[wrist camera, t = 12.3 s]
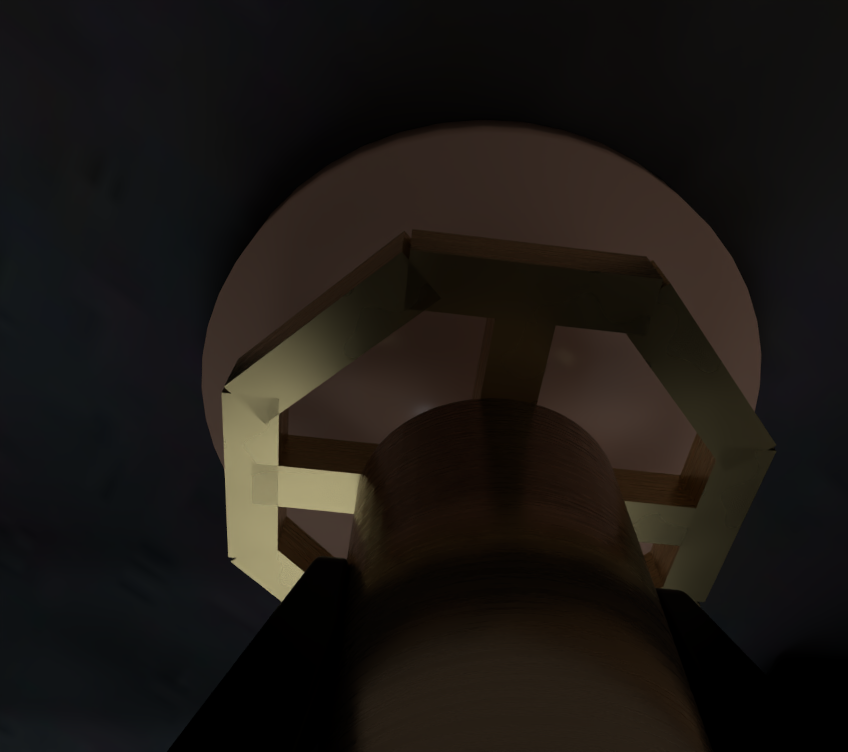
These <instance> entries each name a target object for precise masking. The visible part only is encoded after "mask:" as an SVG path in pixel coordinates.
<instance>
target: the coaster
mask: <svg viewBox="0 0 848 752" xmlns="http://www.w3.org/2000/svg"><path fill="white" fill-rule="evenodd" d="M412 229H418V230H426V231H435V232H443V233H452V234H460V235H469V236H477V237H486V238H494V239H502V240H511V241H519V242H528V243H536V244H545V245H553V246H562V247H570V248H579V249H587V250H596V251H604V252H613V253H621V254H629V255H638V256H646V257H647V258H648V259H649V261H652V260H653V261H654V262H655V263H656V265H657V266H658V267H659V268H660V270H661V271H662V272H663V274H664V275H665V276H666V278H667V279H668V280H669V282H670V283H671V285H672V286H673V288H674V289H675V291H676V292H677V294H678V295H679V297H680V298H681V300H682V302H683V303H684V305H685V306H686V308H687V309H688V311H689V312H690V314H691V315H692V317H693V318H694V320H695V321H696V323H697V324H698V326H699V328H700V329H701V331H702V332H703V334H704V335H705V337H706V338H707V340H708V341H709V343H710V344H711V346H712V347H713V349H714V350H715V352H716V354H717V355H718V357H719V358H720V360H721V361H722V363H723V364H724V366H725V367H726V369H727V370H728V372H729V373H730V375H731V377H732V378H733V380H734V381H735V383H736V384H737V386H738V387H739V389H740V390H741V392H742V393H743V395H744V396H745V398H746V399H747V401H748V403H749V404H750V406H751V407H752V409H753V410H754V412H755V408H756V403H757V398H758V393H759V387H760V371H761V348H760V339H759V331H758V323H757V319H756V315H755V312H754V308H753V305H752V302H751V298H750V295H749V291H748V288H747V286H746V284H745V282H744V280H743V278H742V276H741V274H740V272H739V270H738V268H737V266H736V264H735V262H734V260H733V258H732V256H731V255H730V253H729V252H728V251H727V249H726V248H725V246H724V245H723V244H722V242H721V241H720V239H719V238H718V237H717V235H716V234H715V232H714V231H713V230H712V228H711V227H710V226H709V225H708V224H707V223H706V222H705V221H704V220H703V219H702V218H701V217H700V216H699V215H698V214H697V213H696V212H695V211H694V210H693V209H692V208H691V207H690V206H689V205H688V204H687V203H686V202H685V201H684V200H683V199H682V198H681V197H680V196H679V195H678V194H677V193H676V192H675V191H673V190H672V189H671V188H670V187H669V186H668V185H667V184H666V183H665V182H663V181H662V180H661V179H659V178H658V177H657V176H655V175H654V174H652V173H651V172H650V171H648V170H647V169H646V168H644V167H643V166H642V165H640V164H639V163H637V162H636V161H635V160H633V159H631V158H629V157H627V156H625V155H623V154H621V153H619V152H617V151H616V150H614V149H612V148H610V147H608V146H606V145H604V144H602V143H600V142H597V141H594V140H591V139H588V138H586V137H583V136H580V135H577V134H574V133H571V132H568V131H566V130H562V129H557V128H552V127H547V126H542V125H537V124H532V123H527V122H518V121H499V120H470V121H458V122H446V123H438V124H434V125H429V126H425V127H420V128H416V129H411V130H407V131H402V132H399V133H396V134H393V135H391V136H388V137H385V138H383V139H380V140H377V141H375V142H372V143H369V144H367V145H364V146H362V147H360V148H358V149H356V150H354V151H352V152H350V153H349V154H347V155H345V156H343V157H341V158H339V159H338V160H336V161H334V162H332V163H330V164H328V165H327V166H325V167H324V168H323V169H321V170H320V171H319V172H317V173H316V174H315V175H313V176H312V177H311V178H309V179H308V180H306V181H305V182H304V183H302V184H301V185H300V186H298V187H297V188H296V189H295V190H294V191H293V192H292V193H291V194H290V195H289V196H288V197H287V198H286V199H285V200H284V201H283V202H282V203H281V204H280V205H279V206H278V207H277V208H276V209H275V210H274V211H273V212H272V213H271V214H270V215H269V217H268V218H267V219H266V221H265V222H264V223H263V225H262V226H261V227H260V229H259V230H258V231H257V233H256V234H255V235H254V237H253V238H252V239H251V241H250V242H249V244H248V245H247V247H246V248H245V249H244V251H243V252H242V254H241V255H240V257H239V258H238V260H237V261H236V263H235V265H234V267H233V268H232V270H231V272H230V274H229V276H228V278H227V280H226V282H225V283H224V285H223V287H222V289H221V291H220V293H219V295H218V298H217V301H216V304H215V307H214V310H213V313H212V315H211V318H210V321H209V324H208V328H207V334H206V340H205V345H204V351H203V357H202V394H203V401H204V409H205V416H206V421H207V424H208V428H209V431H210V434H211V438H212V441H213V445H214V448H215V450H216V452H217V454H218V456H219V459H220V461H221V463H222V465H223V467H224V469H225V464H224V440H223V416H222V391H223V389H224V385H225V384H226V382H227V380H228V378H229V376H230V374H231V372H232V370H233V368H234V366H235V364H236V362H237V360H238V358H240V357H241V356H242V355H244V354H245V353H246V352H247V351H249V350H250V349H251V348H253V347H254V346H255V345H257V344H258V343H259V342H260V341H262V340H263V339H264V338H266V337H267V336H268V335H270V334H271V333H272V332H273V331H275V330H276V329H277V328H279V327H280V326H281V325H283V324H284V323H285V322H286V321H288V320H289V319H290V318H292V317H293V316H294V315H295V314H297V313H298V312H299V311H301V310H302V309H303V308H305V307H306V306H307V305H308V304H310V303H311V302H312V301H314V300H315V299H316V298H318V297H319V296H320V295H321V294H323V293H324V292H325V291H327V290H328V289H329V288H331V287H332V286H333V285H334V284H336V283H337V282H338V281H340V280H341V279H342V278H343V277H345V276H346V275H347V274H349V273H350V272H351V271H353V270H354V269H355V268H356V267H358V266H359V265H360V264H362V263H363V262H364V261H366V260H367V259H368V258H369V257H371V256H372V255H373V254H375V253H376V252H377V251H379V250H380V249H381V248H382V247H384V246H385V245H386V244H388V243H389V242H390V241H391V240H393V239H394V238H395V237H397V236H398V235H399V234H401V233H402V232H403V231H405V232H406V233H407V234H408V235H409V237H410V238H411V236H412ZM486 319H487V318H485V317H476V316H467V315H458V314H449V313H440V312H432V311H423V312H422V313H420V314H419V315H417V316H416V317H415V318H413V319H412V320H410V321H409V322H408V323H406V324H405V325H403V326H402V327H401V328H399V329H398V330H396V331H395V332H393V333H392V334H391V335H389V336H388V337H386V338H385V339H384V340H382V341H381V342H379V343H378V344H377V345H375V346H374V347H372V348H371V349H370V350H368V351H367V352H365V353H364V354H363V355H361V356H360V357H358V358H357V359H356V360H354V361H353V362H351V363H350V364H349V365H347V366H346V367H344V368H343V369H342V370H340V371H339V372H337V373H336V374H335V375H333V376H332V377H330V378H329V379H328V380H326V381H325V382H323V383H322V384H321V385H319V386H318V387H316V388H315V389H313V390H312V391H311V392H309V393H308V394H306V395H305V396H304V397H302V398H301V399H299V400H298V401H297V402H295V403H294V404H292V405H291V406H290V407H289V422H288V435H297V436H307V437H316V438H326V439H336V440H345V441H355V442H365V443H374V444H380V443H381V442H382V441H383V440H384V439H385V438H386V437H387V436H388V435H389V434H390V433H391V432H392V431H394V430H395V429H396V428H398V427H399V426H400V425H402V424H403V423H405V422H406V421H408V420H410V419H412V418H413V417H415V416H417V415H419V414H421V413H423V412H426V411H428V410H430V409H433V408H435V407H438V406H442V405H445V404H449V403H452V402H458V401H463V400H469V399H472V396H473V391H474V385H475V380H476V374H477V369H478V363H479V358H480V352H481V347H482V341H483V336H484V330H485V325H486ZM537 405H540V406H543V407H546V408H548V409H551V410H553V411H556V412H558V413H560V414H562V415H564V416H566V417H567V418H569V419H571V420H572V421H574V422H576V423H577V424H578V425H579V426H581V427H582V428H583V429H585V430H586V431H587V432H588V433H589V434H590V435H591V436H592V437H593V438H594V439H595V440H596V441H597V442H598V443H599V445H600V446H601V448H602V449H603V451H604V452H605V454H606V455H607V457H608V459H609V461H610V464H611V466H612V468H616V469H626V470H636V471H646V472H655V473H665V474H675V475H680V474H681V472H682V469H683V467H684V464H685V462H686V459H687V456H688V454H689V451H690V449H691V446H692V444H693V441H694V439H695V436H696V434H697V432H696V431H695V429H694V428H693V427H692V425H691V424H690V422H689V421H688V420H687V418H686V417H685V415H684V414H683V413H682V411H681V410H680V408H679V407H678V406H677V404H676V403H675V401H674V400H673V399H672V397H671V396H670V394H669V393H668V392H667V390H666V389H665V388H664V386H663V385H662V383H661V382H660V381H659V379H658V378H657V376H656V375H655V374H654V372H653V371H652V369H651V368H650V367H649V365H648V364H647V362H646V361H645V360H644V358H643V357H642V355H641V354H640V353H639V351H638V350H637V348H636V347H635V346H634V344H633V343H632V341H631V340H630V339H629V337H628V336H627V335H626V333H618V332H609V331H600V330H591V329H583V328H574V327H565V326H556V327H555V331H554V335H553V339H552V343H551V347H550V352H549V356H548V360H547V364H546V368H545V372H544V377H543V381H542V385H541V389H540V393H539V397H538V402H537ZM353 516H354V514H350V513H340V512H330V511H319V510H309V509H299V508H289V507H287V517H288V518H290V519H291V520H292V521H293V522H294V523H295V524H297V525H298V526H299V527H300V528H301V529H302V530H304V531H305V532H306V533H307V534H308V535H309V536H311V537H312V538H313V539H314V540H315V541H316V542H318V543H319V544H320V545H321V546H322V547H323V548H325V549H326V550H327V551H328V552H329V553H330V554H332V555H333V556H334V557H338V558H345V559H346V560H347V555H348V548H349V542H350V535H351V529H352V522H353ZM639 544H640V547H641V550H642V552H643V555H644V554H646V553H648V552H650V551H651V548H652V546H653V543H645V542H639Z"/></svg>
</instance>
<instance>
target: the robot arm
mask: <svg viewBox="0 0 848 752" xmlns="http://www.w3.org/2000/svg"><path fill="white" fill-rule="evenodd" d="M347 571H348V561H347V560H346V559H345V558H338V557H328V556H319V557H317V558H315V559H314V560H313V562H312V563H311V564H310V565H309V567H308V568H307V569H306V571H305V572H304V573H303V575H302V576H301V577H300V579H299V580H298V581H297V582H296V584H295V585H294V586H293V588H292V589H291V590H290V592H289V593H288V594H287V595H286V597H285V598H284V599H283V601H282V602H281V603H280V605H279V606H278V607H277V609H276V610H275V611H274V612H273V614H272V615H271V616H270V618H269V619H268V620H267V622H266V623H265V624H264V626H263V627H262V628H261V629H260V631H259V632H258V633H257V635H256V636H255V637H254V639H253V640H252V641H251V643H250V644H249V645H248V646H247V648H246V649H245V650H244V652H243V653H242V654H241V656H240V657H239V658H238V660H237V661H236V662H235V663H234V665H233V666H232V667H231V669H230V670H229V671H228V673H227V674H226V675H225V676H224V678H223V679H222V680H221V682H220V683H219V684H218V686H217V687H216V688H215V690H214V691H213V692H212V693H211V695H210V696H209V697H208V699H207V700H206V701H205V703H204V704H203V705H202V707H201V708H200V709H199V710H198V712H197V713H196V714H195V716H194V717H193V718H192V720H191V721H190V722H189V724H188V725H187V726H186V727H185V729H184V730H183V731H182V733H181V734H180V735H179V737H178V738H177V739H176V740H175V742H174V743H173V744H172V746H171V747H170V748H169V750H168V751H167V752H318V746H319V739H320V733H321V726H322V719H323V713H324V707H325V701H326V695H327V690H328V686H329V681H330V677H331V672H332V668H333V663H334V657H335V651H336V646H337V639H338V632H339V625H340V618H341V612H342V605H343V598H344V591H345V585H346V578H347ZM655 589H656V592H657V595H658V597H659V600H660V603H661V606H662V609H663V612H664V614H665V617H666V620H667V623H668V626H669V628H670V631H671V634H672V637H673V640H674V643H675V645H676V648H677V651H678V654H679V657H680V659H681V662H682V665H683V668H684V671H685V674H686V676H687V679H688V682H689V685H690V688H691V690H692V693H693V696H694V699H695V702H696V705H697V707H698V710H699V713H700V716H701V719H702V721H703V724H704V727H705V730H706V733H707V735H708V738H709V741H710V744H711V747H712V750H713V752H848V664H842V663H831V662H820V661H808V660H792V661H788V662H785V663H783V664H781V665H780V666H778V667H777V668H776V669H775V670H774V672H773V674H772V675H771V677H770V679H769V678H768V677H767V676H766V675H765V674H764V673H763V672H762V671H761V669H760V668H759V667H758V666H757V665H756V664H755V663H754V662H753V661H752V660H751V659H750V658H749V657H748V656H747V655H746V654H745V653H744V652H743V651H742V650H741V649H740V648H739V647H738V646H737V645H736V644H735V643H734V642H733V641H732V640H731V639H730V638H729V636H728V635H727V634H726V633H725V632H724V631H723V630H722V629H721V628H720V627H719V626H718V625H717V624H716V623H715V622H714V621H713V620H712V619H711V618H710V617H709V616H708V615H707V614H706V613H705V612H704V611H703V610H702V609H701V608H700V607H699V606H698V605H697V603H696V602H695V601H694V600H693V599H692V598H691V597H690V596H689V595H688V594H686V593H685V592H683V591H681V590H676V589H665V588H655Z"/></svg>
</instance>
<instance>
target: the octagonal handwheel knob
mask: <svg viewBox="0 0 848 752" xmlns="http://www.w3.org/2000/svg"><path fill="white" fill-rule="evenodd" d="M423 311H432V312H440V313H449V314H458V315H467V316H476V317H485V318H487V319H486V325H485V330H484V336H483V341H482V347H481V352H480V358H479V363H478V369H477V374H476V380H475V385H474V391H473V396H472V399H469V400H463V401H458V402H452V403H449V404H445V405H442V406H438V407H435V408H433V409H430V410H428V411H426V412H423V413H421V414H419V415H417V416H415V417H413V418H412V419H410V420H408V421H406V422H405V423H403V424H402V425H400V426H399V427H398V428H396V429H395V430H394V431H392V432H391V433H390V434H389V435H388V436H387V437H386V438H385V439H384V440H383V441H382V442H381V443H380V444H374V443H365V442H355V441H345V440H336V439H326V438H316V437H307V436H297V435H288V422H289V407H290V406H291V405H292V404H294V403H295V402H297V401H298V400H299V399H301V398H302V397H304V396H305V395H306V394H308V393H309V392H311V391H312V390H313V389H315V388H316V387H318V386H319V385H321V384H322V383H323V382H325V381H326V380H328V379H329V378H330V377H332V376H333V375H335V374H336V373H337V372H339V371H340V370H342V369H343V368H344V367H346V366H347V365H349V364H350V363H351V362H353V361H354V360H356V359H357V358H358V357H360V356H361V355H363V354H364V353H365V352H367V351H368V350H370V349H371V348H372V347H374V346H375V345H377V344H378V343H379V342H381V341H382V340H384V339H385V338H386V337H388V336H389V335H391V334H392V333H393V332H395V331H396V330H398V329H399V328H401V327H402V326H403V325H405V324H406V323H408V322H409V321H410V320H412V319H413V318H415V317H416V316H417V315H419V314H420V313H422V312H423ZM556 326H565V327H574V328H583V329H591V330H600V331H609V332H618V333H626V335H627V336H628V337H629V339H630V340H631V341H632V343H633V344H634V346H635V347H636V348H637V350H638V351H639V353H640V354H641V355H642V357H643V358H644V360H645V361H646V362H647V364H648V365H649V367H650V368H651V369H652V371H653V372H654V374H655V375H656V376H657V378H658V379H659V381H660V382H661V383H662V385H663V386H664V388H665V389H666V390H667V392H668V393H669V394H670V396H671V397H672V399H673V400H674V401H675V403H676V404H677V406H678V407H679V408H680V410H681V411H682V413H683V414H684V415H685V417H686V418H687V420H688V421H689V422H690V424H691V425H692V427H693V428H694V429H695V431H696V432H697V434H696V436H695V439H694V441H693V444H692V446H691V449H690V451H689V454H688V456H687V459H686V462H685V464H684V467H683V469H682V472H681V474H680V475H675V474H665V473H655V472H646V471H636V470H626V469H616V468H612V466H611V464H610V461H609V459H608V457H607V455H606V454H605V452H604V451H603V449H602V448H601V446H600V445H599V443H598V442H597V441H596V440H595V439H594V438H593V437H592V436H591V435H590V434H589V433H588V432H587V431H586V430H585V429H583V428H582V427H581V426H579V425H578V424H577V423H576V422H574V421H572V420H571V419H569V418H567V417H566V416H564V415H562V414H560V413H558V412H556V411H553V410H551V409H548V408H546V407H543V406H540V405H537V402H538V397H539V393H540V389H541V385H542V381H543V377H544V372H545V368H546V364H547V360H548V356H549V352H550V347H551V343H552V339H553V335H554V331H555V327H556ZM222 416H223V440H224V464H225V488H226V513H227V537H228V557H232V559H231V562H232V563H233V564H234V565H236V566H237V567H238V568H239V569H241V570H242V571H243V572H244V573H246V574H247V575H248V576H250V577H251V578H252V579H253V580H255V581H256V582H257V583H259V584H260V585H261V586H262V587H264V588H265V589H266V590H267V591H269V592H270V593H271V594H273V595H274V596H275V597H276V598H278V599H279V600H280V601H281V602H282V601H283V599H284V598H285V597H286V595H287V594H288V593H289V592H290V590H291V589H292V588H293V586H294V585H295V584H296V582H297V581H298V580H299V579H300V577H301V576H302V575H303V573H304V572H305V571H306V569H307V568H308V567H309V565H310V564H311V563H312V562H313V560H314V559H315V558H317V557H319V556H328V557H334V556H333V555H332V554H330V553H329V552H328V551H327V550H326V549H325V548H323V547H322V546H321V545H320V544H319V543H318V542H316V541H315V540H314V539H313V538H312V537H311V536H309V535H308V534H307V533H306V532H305V531H304V530H302V529H301V528H300V527H299V526H298V525H297V524H295V523H294V522H293V521H292V520H291V519H290V518H288V517H287V507H289V508H299V509H309V510H319V511H330V512H340V513H350V514H354V516H353V522H352V529H351V535H350V542H349V548H348V555H347V561H348V571H347V578H346V585H345V591H344V598H343V605H342V612H341V618H340V625H339V632H338V639H337V646H336V651H335V657H334V663H333V668H332V672H331V677H330V681H329V686H328V690H327V695H326V701H325V707H324V713H323V719H322V726H321V733H320V739H319V746H318V752H713V750H712V747H711V744H710V741H709V738H708V735H707V733H706V730H705V727H704V724H703V721H702V719H701V716H700V713H699V710H698V707H697V705H696V702H695V699H694V696H693V693H692V690H691V688H690V685H689V682H688V679H687V676H686V674H685V671H684V668H683V665H682V662H681V659H680V657H679V654H678V651H677V648H676V645H675V643H674V640H673V637H672V634H671V631H670V628H669V626H668V623H667V620H666V617H665V614H664V612H663V609H662V606H661V603H660V600H659V597H658V595H657V592H656V589H655V588H665V589H676V590H681V591H683V592H685V593H686V594H688V595H689V596H690V597H691V598H692V599H693V600H694V601H695V602H696V603H697V605H698V606H699V607H700V603H699V602H705V600H706V598H707V596H708V594H709V592H710V590H711V588H712V586H713V584H714V581H715V579H716V577H717V575H718V573H719V571H720V569H721V567H722V565H723V562H724V560H725V558H726V556H727V554H728V552H729V550H730V548H731V546H732V543H733V541H734V539H735V537H736V535H737V533H738V531H739V529H740V527H741V524H742V522H743V520H744V518H745V516H746V514H747V512H748V510H749V508H750V505H751V503H752V501H753V499H754V497H755V495H756V493H757V491H758V489H759V486H760V484H761V482H762V480H763V478H764V476H765V474H766V472H767V470H768V467H769V465H770V463H771V461H772V459H773V457H774V455H775V453H776V450H775V449H774V446H776V444H775V442H774V441H773V439H772V438H771V436H770V435H769V433H768V432H767V430H766V429H765V427H764V425H763V424H762V422H761V421H760V419H759V418H758V416H757V415H756V413H755V412H754V410H753V409H752V407H751V406H750V404H749V403H748V401H747V399H746V398H745V396H744V395H743V393H742V392H741V390H740V389H739V387H738V386H737V384H736V383H735V381H734V380H733V378H732V377H731V375H730V373H729V372H728V370H727V369H726V367H725V366H724V364H723V363H722V361H721V360H720V358H719V357H718V355H717V354H716V352H715V350H714V349H713V347H712V346H711V344H710V343H709V341H708V340H707V338H706V337H705V335H704V334H703V332H702V331H701V329H700V328H699V326H698V324H697V323H696V321H695V320H694V318H693V317H692V315H691V314H690V312H689V311H688V309H687V308H686V306H685V305H684V303H683V302H682V300H681V298H680V297H679V295H678V294H677V292H676V291H675V289H674V288H673V286H672V285H671V283H670V282H669V280H668V279H667V278H666V276H665V275H664V274H663V272H662V271H661V270H660V268H659V267H658V266H657V265H656V263H655V262H654V261H653V260H652V261H649V259H648V258H647V257H646V256H638V255H629V254H621V253H613V252H604V251H596V250H587V249H579V248H570V247H562V246H553V245H545V244H536V243H528V242H519V241H511V240H502V239H494V238H486V237H477V236H469V235H460V234H452V233H443V232H435V231H426V230H418V229H412V236H411V238H410V237H409V235H408V234H407V233H406V232H405V231H403V232H402V233H401V234H399V235H398V236H397V237H395V238H394V239H393V240H391V241H390V242H389V243H388V244H386V245H385V246H384V247H382V248H381V249H380V250H379V251H377V252H376V253H375V254H373V255H372V256H371V257H369V258H368V259H367V260H366V261H364V262H363V263H362V264H360V265H359V266H358V267H356V268H355V269H354V270H353V271H351V272H350V273H349V274H347V275H346V276H345V277H343V278H342V279H341V280H340V281H338V282H337V283H336V284H334V285H333V286H332V287H331V288H329V289H328V290H327V291H325V292H324V293H323V294H321V295H320V296H319V297H318V298H316V299H315V300H314V301H312V302H311V303H310V304H308V305H307V306H306V307H305V308H303V309H302V310H301V311H299V312H298V313H297V314H295V315H294V316H293V317H292V318H290V319H289V320H288V321H286V322H285V323H284V324H283V325H281V326H280V327H279V328H277V329H276V330H275V331H273V332H272V333H271V334H270V335H268V336H267V337H266V338H264V339H263V340H262V341H260V342H259V343H258V344H257V345H255V346H254V347H253V348H251V349H250V350H249V351H247V352H246V353H245V354H244V355H242V356H241V357H240V358H238V360H237V362H236V364H235V366H234V368H233V370H232V372H231V374H230V376H229V378H228V380H227V382H226V384H225V385H224V389H223V391H222ZM639 542H645V543H653V546H652V548H651V551H650V552H648V553H646V554H644V555H643V552H642V550H641V547H640V544H639Z"/></svg>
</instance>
